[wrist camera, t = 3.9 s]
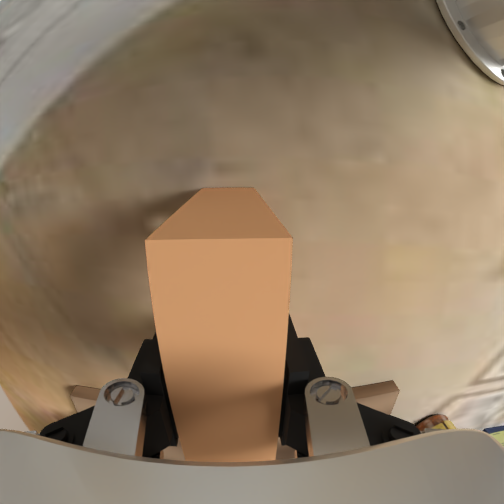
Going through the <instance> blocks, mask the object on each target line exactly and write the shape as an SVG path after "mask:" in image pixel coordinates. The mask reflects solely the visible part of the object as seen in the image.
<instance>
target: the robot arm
mask: <svg viewBox="0 0 504 504" xmlns="http://www.w3.org/2000/svg"><path fill="white" fill-rule="evenodd" d="M436 1H437V4H438V6H439V9H440V11H441V14H442V16H443V18H444V20H445V21H446V23H447V25H448V27H449V29H450V30H451V32H452V34H453V35H454V37H455V39H456V40H457V42H458V43H459V44H460V46H461V47H462V49H463V50H464V51H465V53H466V54H467V55H468V56H469V57H470V59H471V60H472V61H473V62H474V63H475V64H476V65H477V66H478V67H479V68H480V69H481V70H482V71H483V72H484V73H485V74H486V75H487V76H489V77H490V78H491V79H492V80H494V81H496V82H498V83H499V84H502V85H504V0H436ZM278 437H280V440H281V446H284V445H287V446H289V447H291V448H293V449H295V452H294V455H295V458H293V459H283V460H270V461H252V462H198V461H180V460H168V459H164V451H163V450H164V449H165V448H167V447H169V446H176V447H177V443H178V438H179V436H178V432H177V428H176V424H175V420H174V416H173V412H172V408H171V404H170V399H169V395H168V390H167V386H166V381H165V376H164V371H163V366H162V361H161V356H160V350H159V345H158V339H157V333H156V332H155V335H154V337H153V339H145V340H144V341H143V344H142V346H141V348H140V350H139V353H138V355H137V357H136V360H135V362H134V364H133V367H132V369H131V372H130V374H129V376H128V378H121V379H116V380H112V381H110V382H108V383H106V384H105V385H104V386H103V387H102V389H101V390H100V392H99V395H98V398H97V401H96V404H95V405H94V406H92V407H90V408H88V409H85V410H83V411H81V412H78V413H76V414H73V415H71V416H69V417H66V418H64V419H61V420H59V421H56V422H54V423H51V424H49V425H48V426H46V427H45V428H44V429H43V430H42V431H41V432H40V434H38V433H37V431H28V432H21V431H15V430H7V429H0V504H504V447H503V446H502V444H501V443H500V442H498V441H497V440H496V439H495V438H494V437H493V436H491V435H490V434H488V433H486V432H484V431H481V430H476V429H448V430H446V429H431V428H424V430H423V431H419V429H418V428H417V427H416V426H415V425H414V424H412V423H410V422H408V421H405V420H402V419H399V418H396V417H394V416H391V415H388V414H386V413H383V412H380V411H378V410H375V409H372V408H370V407H367V406H365V405H362V404H360V403H357V402H356V399H355V396H354V393H353V390H352V389H351V387H350V385H348V384H347V383H346V382H345V381H343V380H341V379H338V378H334V377H325V374H324V372H323V369H322V367H321V364H320V362H319V360H318V357H317V355H316V352H315V350H314V347H313V345H312V343H311V340H310V338H308V337H307V338H298V337H297V334H296V331H295V329H294V326H293V323H292V320H291V317H290V315H289V317H288V332H287V345H286V358H285V370H284V382H283V393H282V404H281V414H280V423H279V433H278Z"/></svg>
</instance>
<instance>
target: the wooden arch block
mask: <svg viewBox="0 0 504 504" xmlns="http://www.w3.org/2000/svg"><path fill="white" fill-rule="evenodd" d="M292 244H293V238H292V237H291V235H290V234H289V233H288V231H287V230H286V229H285V227H284V226H283V225H282V223H281V222H280V221H279V219H278V218H277V217H276V216H275V214H274V213H273V212H272V210H271V209H270V208H269V207H268V205H267V204H266V203H265V201H264V200H263V199H262V198H261V196H260V195H259V194H258V192H257V191H256V190H255V189H254V188H202V189H201V190H200V191H199V192H197V193H196V194H195V195H194V196H193V197H192V198H190V199H189V200H188V201H187V202H186V203H185V204H184V205H183V206H181V207H180V208H179V209H178V210H177V211H176V212H175V213H174V214H173V215H171V216H170V217H169V218H168V219H167V220H166V221H165V222H164V223H163V224H162V225H160V226H159V227H158V228H157V229H156V230H155V231H154V232H153V233H152V234H151V235H150V236H149V237H148V238H147V239H146V240H145V248H146V258H147V268H148V276H149V285H150V293H151V300H152V307H153V314H154V321H155V327H156V333H157V339H158V345H159V350H160V356H161V361H162V366H163V371H164V376H165V381H166V386H167V390H168V395H169V399H170V404H171V408H172V412H173V416H174V420H175V424H176V428H177V432H178V436H179V440H180V443H181V447H182V450H183V454H184V457H185V461H198V462H252V461H270V460H275V459H276V451H277V442H278V433H279V423H280V414H281V404H282V393H283V382H284V370H285V358H286V345H287V332H288V317H289V302H290V284H291V265H292Z"/></svg>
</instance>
